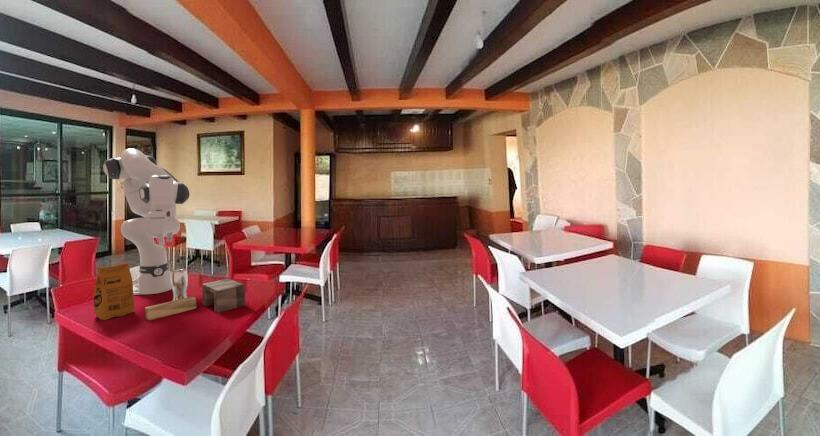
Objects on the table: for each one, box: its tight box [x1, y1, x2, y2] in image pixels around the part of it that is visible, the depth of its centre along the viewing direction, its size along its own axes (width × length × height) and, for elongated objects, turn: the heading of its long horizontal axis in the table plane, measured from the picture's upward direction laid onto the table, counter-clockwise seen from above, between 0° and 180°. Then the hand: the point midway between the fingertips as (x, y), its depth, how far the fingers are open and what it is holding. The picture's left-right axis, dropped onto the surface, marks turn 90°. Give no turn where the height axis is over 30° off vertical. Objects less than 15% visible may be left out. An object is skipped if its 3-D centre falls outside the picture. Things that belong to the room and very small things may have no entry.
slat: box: [144, 296, 197, 321], centre depth 150 cm, size 4×18×5 cm, turn 144°
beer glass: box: [170, 268, 189, 301], centre depth 164 cm, size 7×7×15 cm
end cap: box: [201, 278, 246, 314], centre depth 161 cm, size 16×12×10 cm
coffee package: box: [93, 262, 135, 321], centre depth 146 cm, size 10×12×22 cm
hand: (165, 243), depth 150 cm, fingers open, 8 cm apart
